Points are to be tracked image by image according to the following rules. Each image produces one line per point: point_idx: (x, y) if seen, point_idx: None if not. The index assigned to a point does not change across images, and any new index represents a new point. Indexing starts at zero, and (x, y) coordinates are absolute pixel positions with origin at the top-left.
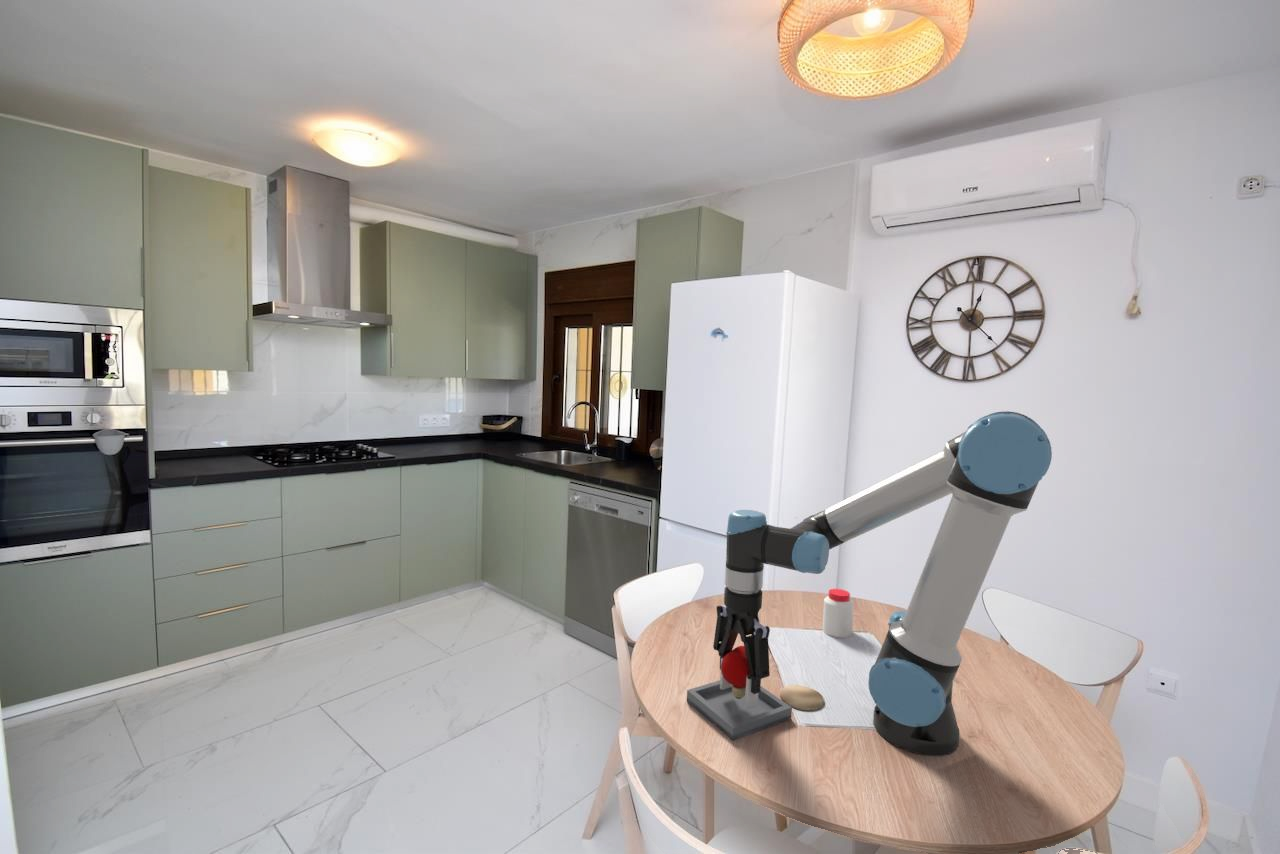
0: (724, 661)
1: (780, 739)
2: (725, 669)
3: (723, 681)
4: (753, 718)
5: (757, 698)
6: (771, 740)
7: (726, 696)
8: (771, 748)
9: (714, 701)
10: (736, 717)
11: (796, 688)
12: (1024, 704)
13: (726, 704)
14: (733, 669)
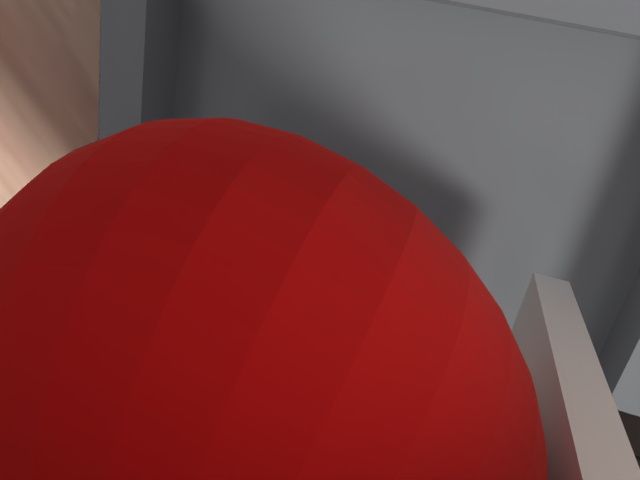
0: (259, 272)
1: (40, 169)
2: (199, 136)
3: (538, 322)
4: (118, 128)
5: None
6: (54, 122)
7: (519, 297)
8: (4, 55)
9: (550, 166)
10: (286, 119)
11: None
12: None
13: (446, 204)
14: (16, 194)
